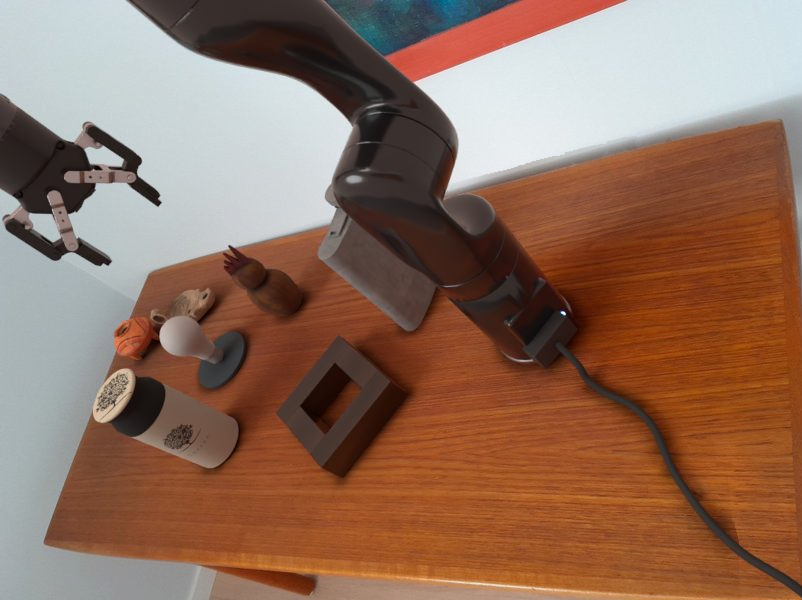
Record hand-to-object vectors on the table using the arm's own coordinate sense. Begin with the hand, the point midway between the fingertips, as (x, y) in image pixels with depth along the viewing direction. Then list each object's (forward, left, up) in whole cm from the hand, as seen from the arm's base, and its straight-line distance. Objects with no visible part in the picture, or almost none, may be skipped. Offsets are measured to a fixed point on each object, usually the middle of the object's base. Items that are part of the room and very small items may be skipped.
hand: (133, 231), depth 75 cm
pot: (+38, +20, -30) cm, 53 cm away
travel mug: (+3, +19, -30) cm, 36 cm away
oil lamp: (+32, +10, -30) cm, 45 cm away
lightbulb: (+16, +11, -30) cm, 35 cm away
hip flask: (-10, -18, -30) cm, 37 cm away
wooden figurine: (+11, -3, -30) cm, 32 cm away
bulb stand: (-14, +2, -30) cm, 33 cm away
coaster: (+16, +11, -30) cm, 36 cm away
